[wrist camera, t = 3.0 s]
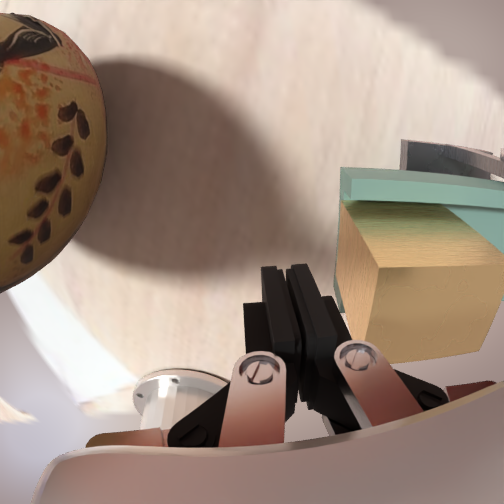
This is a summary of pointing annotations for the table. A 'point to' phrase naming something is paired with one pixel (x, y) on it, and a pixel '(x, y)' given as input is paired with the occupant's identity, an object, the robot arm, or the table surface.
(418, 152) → the pivot stand
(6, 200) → the ceramic jug
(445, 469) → the robot arm
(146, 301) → the table surface
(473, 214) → the balance beam
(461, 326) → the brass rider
